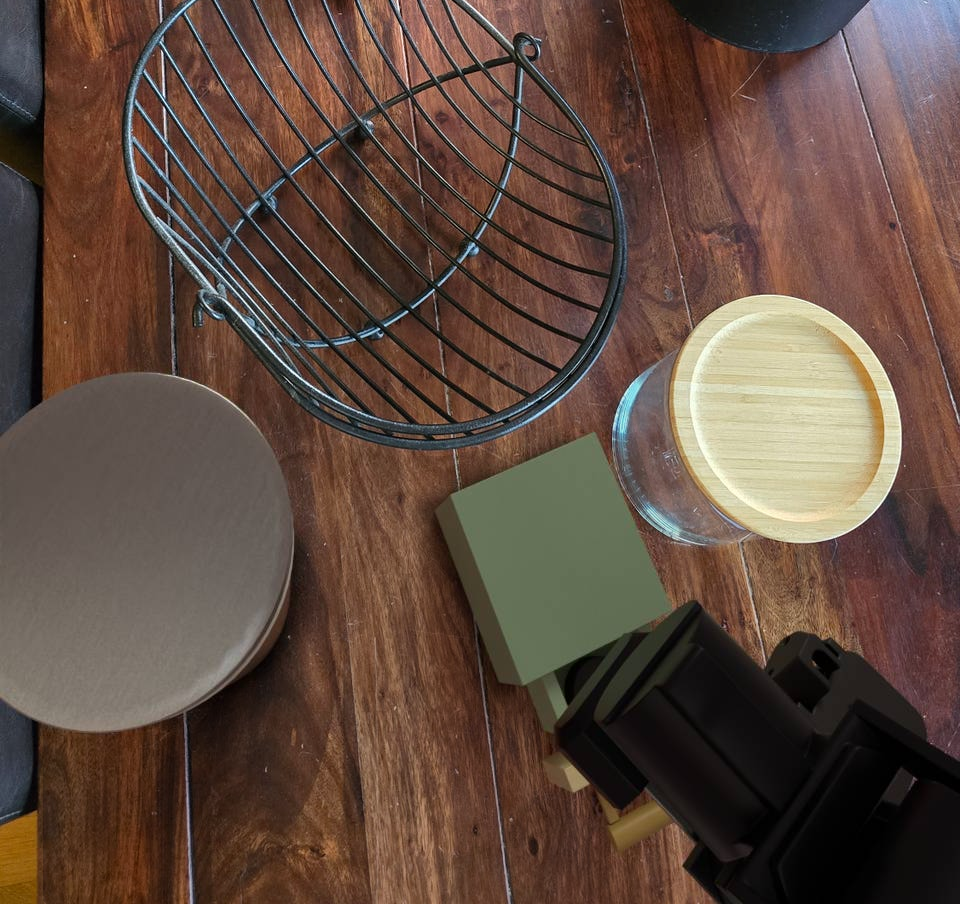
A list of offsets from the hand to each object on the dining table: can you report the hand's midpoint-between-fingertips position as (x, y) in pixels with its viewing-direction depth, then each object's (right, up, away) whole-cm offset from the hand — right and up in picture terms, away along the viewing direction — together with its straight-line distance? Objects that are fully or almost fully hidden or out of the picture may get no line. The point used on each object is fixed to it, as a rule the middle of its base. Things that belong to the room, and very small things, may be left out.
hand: (695, 822), depth 57 cm
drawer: (-4, -1, +13) cm, 13 cm away
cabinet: (-7, +6, +16) cm, 19 cm away
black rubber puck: (-4, 0, +12) cm, 12 cm away
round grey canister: (-27, +5, +13) cm, 31 cm away
